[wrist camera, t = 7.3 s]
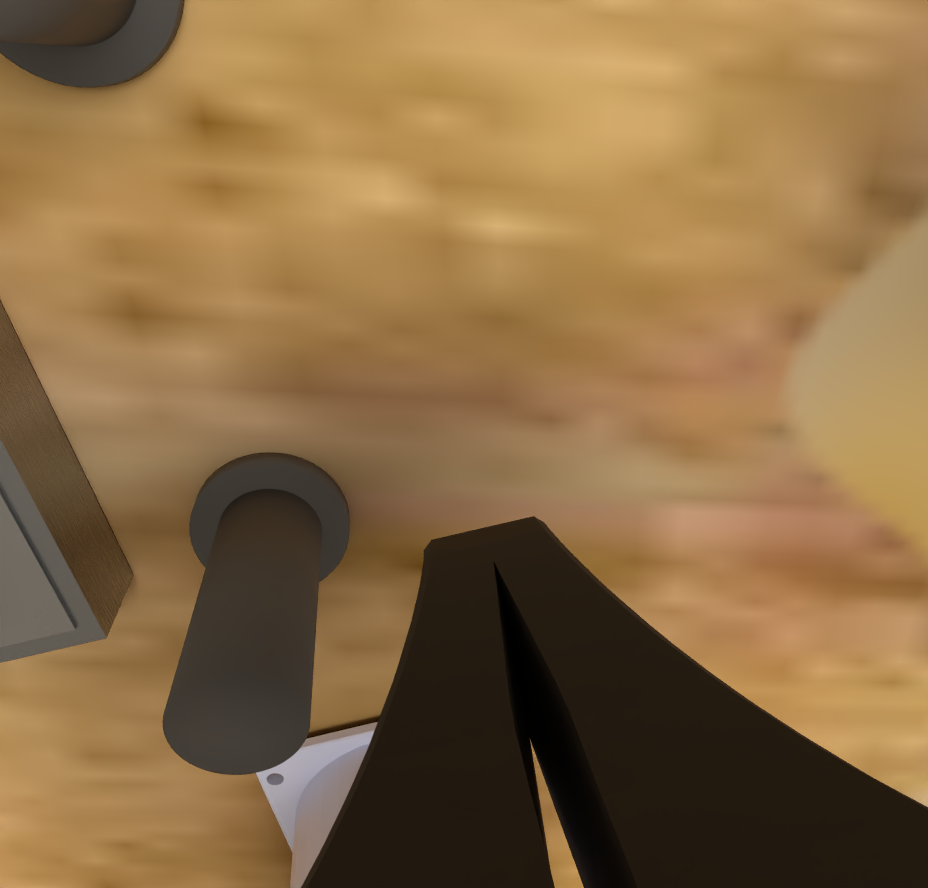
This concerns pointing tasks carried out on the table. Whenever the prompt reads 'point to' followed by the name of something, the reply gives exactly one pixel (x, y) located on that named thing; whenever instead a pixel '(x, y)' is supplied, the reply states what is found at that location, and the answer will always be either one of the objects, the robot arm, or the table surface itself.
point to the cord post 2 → (255, 612)
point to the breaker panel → (48, 525)
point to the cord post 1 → (87, 38)
